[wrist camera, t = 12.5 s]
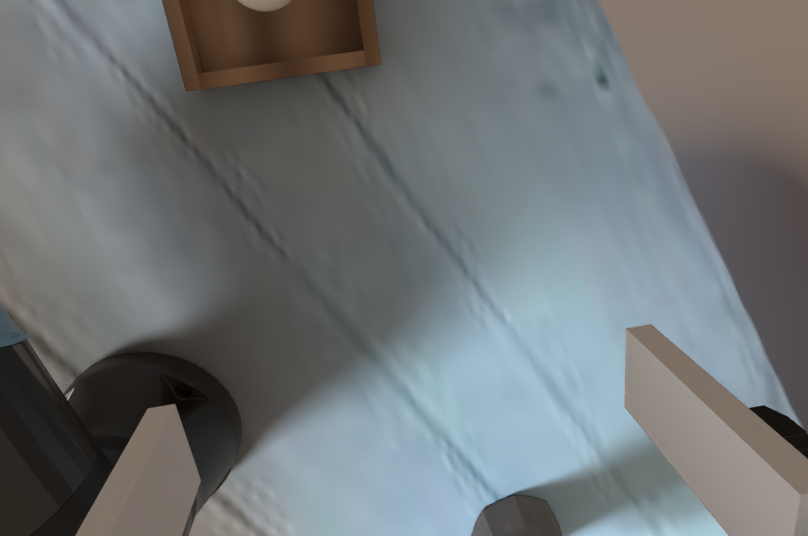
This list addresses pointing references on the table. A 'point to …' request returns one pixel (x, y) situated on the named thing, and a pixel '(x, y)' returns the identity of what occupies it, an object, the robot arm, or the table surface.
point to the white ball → (265, 4)
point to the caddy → (269, 40)
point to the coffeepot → (517, 518)
